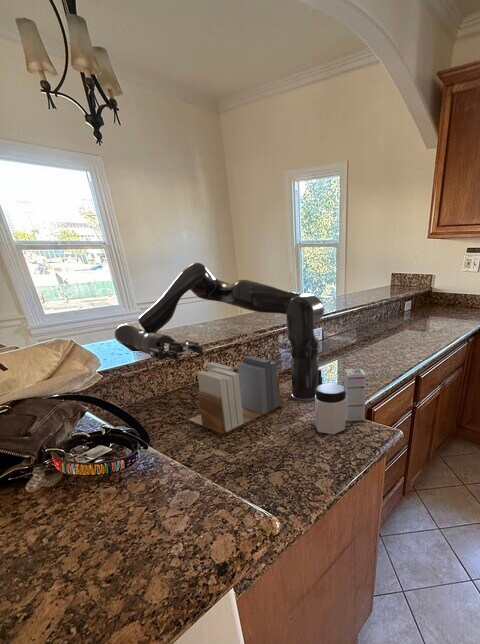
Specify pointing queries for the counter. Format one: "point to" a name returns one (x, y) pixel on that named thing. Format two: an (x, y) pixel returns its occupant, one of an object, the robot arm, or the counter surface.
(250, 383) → the grey books
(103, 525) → the counter surface
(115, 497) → the counter surface
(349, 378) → the syrup box
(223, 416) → the white books
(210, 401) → the book rack
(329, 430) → the jar
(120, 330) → the robot arm
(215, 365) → the thin white book
